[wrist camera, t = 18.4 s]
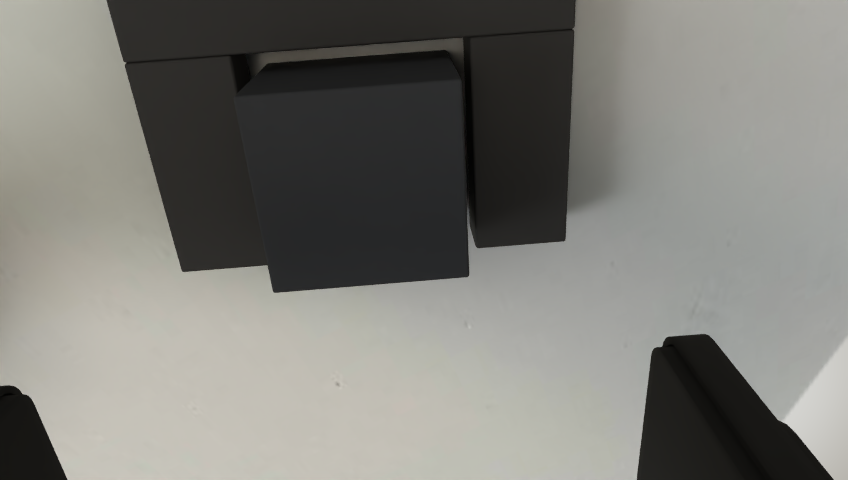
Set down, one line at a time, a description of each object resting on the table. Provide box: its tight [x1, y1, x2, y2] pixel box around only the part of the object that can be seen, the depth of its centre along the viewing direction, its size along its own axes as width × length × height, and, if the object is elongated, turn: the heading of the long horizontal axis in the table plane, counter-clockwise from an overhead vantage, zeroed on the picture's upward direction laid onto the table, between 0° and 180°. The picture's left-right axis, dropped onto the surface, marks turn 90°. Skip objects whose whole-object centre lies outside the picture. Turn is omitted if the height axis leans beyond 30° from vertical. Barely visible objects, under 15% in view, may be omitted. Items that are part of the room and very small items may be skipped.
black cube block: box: [234, 50, 469, 293], centre depth 20 cm, size 6×6×5 cm
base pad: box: [107, 0, 576, 272], centre depth 20 cm, size 14×14×2 cm
